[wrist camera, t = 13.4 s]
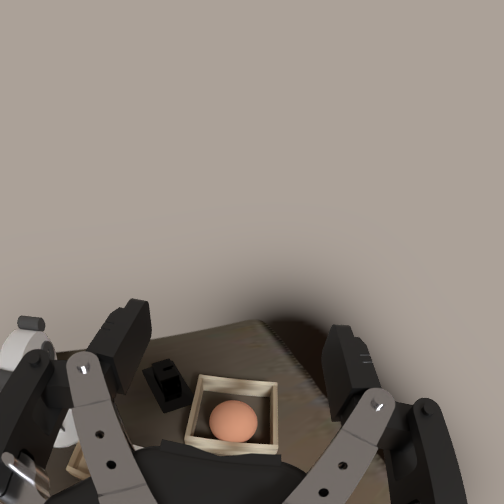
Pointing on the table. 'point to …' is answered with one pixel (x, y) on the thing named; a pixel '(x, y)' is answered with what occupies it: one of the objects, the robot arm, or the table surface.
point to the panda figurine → (13, 352)
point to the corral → (241, 389)
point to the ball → (233, 421)
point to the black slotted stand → (168, 386)
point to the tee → (78, 464)
